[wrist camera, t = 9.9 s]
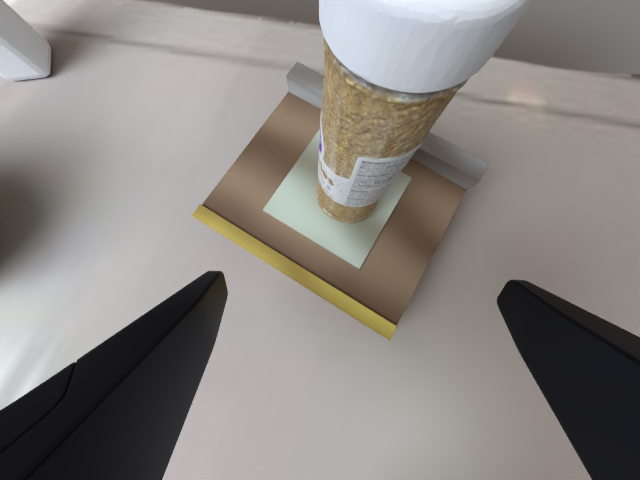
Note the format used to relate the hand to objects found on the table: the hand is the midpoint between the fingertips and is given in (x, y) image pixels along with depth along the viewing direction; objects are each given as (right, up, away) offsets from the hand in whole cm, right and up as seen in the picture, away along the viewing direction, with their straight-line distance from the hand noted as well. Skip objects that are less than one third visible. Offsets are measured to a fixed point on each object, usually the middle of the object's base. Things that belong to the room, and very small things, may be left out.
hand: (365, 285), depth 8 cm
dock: (0, +4, +13) cm, 14 cm away
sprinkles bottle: (0, +5, +10) cm, 11 cm away
